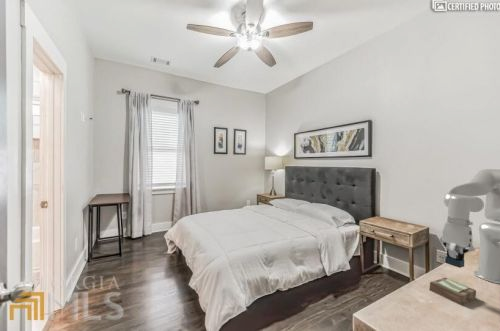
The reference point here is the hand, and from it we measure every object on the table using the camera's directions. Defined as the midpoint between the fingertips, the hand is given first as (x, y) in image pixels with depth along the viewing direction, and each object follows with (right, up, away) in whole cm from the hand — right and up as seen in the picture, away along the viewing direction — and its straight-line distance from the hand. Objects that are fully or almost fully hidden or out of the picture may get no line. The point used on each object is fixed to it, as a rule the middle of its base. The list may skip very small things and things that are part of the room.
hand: (454, 259), depth 106 cm
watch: (0, -3, 0) cm, 3 cm away
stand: (-1, -17, 0) cm, 17 cm away
